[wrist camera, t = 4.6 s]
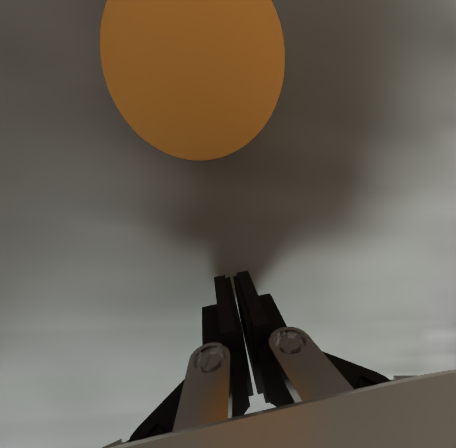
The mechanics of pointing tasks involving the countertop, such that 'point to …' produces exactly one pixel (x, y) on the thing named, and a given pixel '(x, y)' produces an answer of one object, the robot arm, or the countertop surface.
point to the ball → (193, 71)
